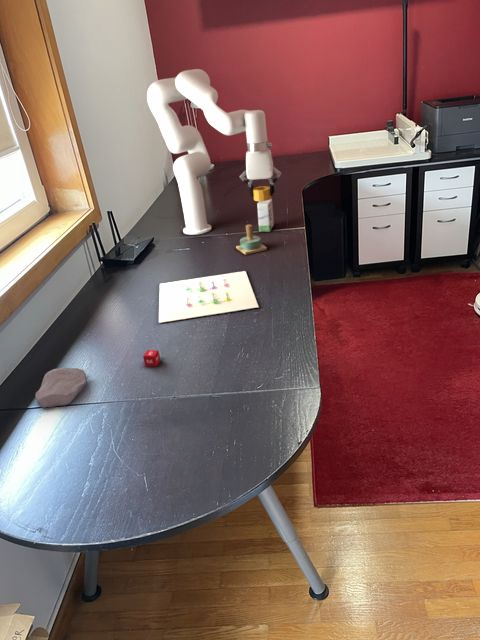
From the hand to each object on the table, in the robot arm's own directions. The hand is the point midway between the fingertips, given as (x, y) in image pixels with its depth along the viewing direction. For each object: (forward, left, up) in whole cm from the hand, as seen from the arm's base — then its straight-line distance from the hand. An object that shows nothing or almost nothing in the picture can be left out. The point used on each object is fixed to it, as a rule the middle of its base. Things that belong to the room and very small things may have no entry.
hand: (262, 195), depth 197 cm
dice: (+68, -66, -18) cm, 96 cm away
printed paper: (+37, -40, -18) cm, 57 cm away
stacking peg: (+7, -10, -18) cm, 21 cm away
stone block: (+69, -88, -18) cm, 113 cm away
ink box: (-12, +6, -18) cm, 23 cm away
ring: (0, 0, -1) cm, 1 cm away
